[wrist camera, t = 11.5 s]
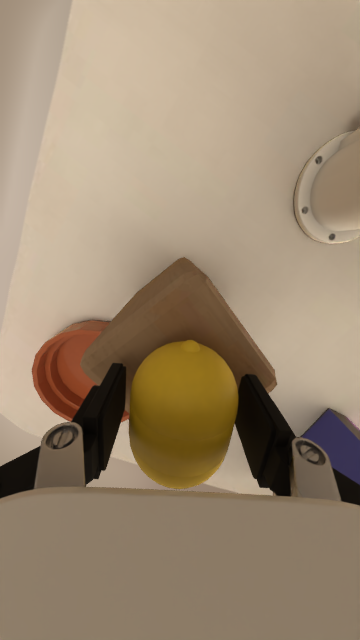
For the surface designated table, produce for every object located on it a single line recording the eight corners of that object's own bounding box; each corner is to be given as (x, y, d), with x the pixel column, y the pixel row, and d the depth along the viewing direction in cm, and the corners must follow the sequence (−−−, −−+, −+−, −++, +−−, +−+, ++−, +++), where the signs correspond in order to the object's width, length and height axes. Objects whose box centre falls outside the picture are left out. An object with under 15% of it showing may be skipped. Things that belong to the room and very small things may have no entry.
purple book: (290, 471, 45) (407, 697, 22) (273, 465, 44) (376, 692, 22) (346, 417, 40) (568, 635, 17) (328, 408, 39) (536, 624, 17)
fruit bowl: (44, 314, 32) (24, 324, 28) (155, 325, 33) (152, 336, 29) (54, 403, 38) (39, 423, 33) (148, 410, 39) (145, 430, 34)
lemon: (142, 316, 11) (117, 368, 7) (232, 325, 12) (273, 381, 7) (136, 424, 14) (115, 518, 9) (211, 428, 14) (229, 523, 9)
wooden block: (172, 342, 34) (169, 458, 15) (132, 295, 31) (66, 367, 12) (222, 306, 32) (289, 389, 13) (184, 254, 29) (199, 263, 11)
